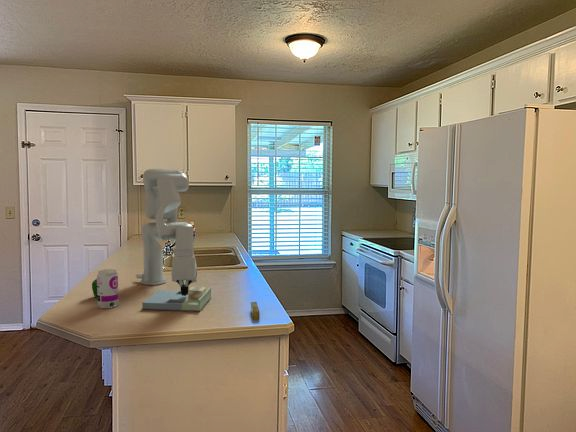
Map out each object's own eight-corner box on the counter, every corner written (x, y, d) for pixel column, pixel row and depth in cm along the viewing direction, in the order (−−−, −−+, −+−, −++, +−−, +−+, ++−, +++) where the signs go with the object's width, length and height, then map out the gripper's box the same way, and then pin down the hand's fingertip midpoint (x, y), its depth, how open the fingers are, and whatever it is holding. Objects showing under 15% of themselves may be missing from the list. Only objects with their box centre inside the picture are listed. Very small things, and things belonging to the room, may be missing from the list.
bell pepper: (87, 298, 194) (87, 276, 193) (101, 293, 202) (101, 272, 201) (102, 300, 191) (101, 278, 190) (116, 295, 199) (115, 274, 198)
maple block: (188, 299, 184) (188, 290, 184) (192, 295, 190) (192, 286, 190) (202, 300, 184) (202, 290, 184) (205, 296, 190) (205, 287, 190)
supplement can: (122, 304, 186) (122, 270, 184) (108, 310, 178) (108, 274, 177) (107, 302, 188) (106, 268, 187) (93, 307, 181) (92, 272, 179)
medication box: (250, 311, 181) (250, 301, 181) (257, 310, 182) (256, 301, 181) (253, 320, 169) (252, 310, 169) (259, 320, 170) (259, 310, 169)
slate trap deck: (142, 309, 179) (142, 297, 179) (159, 296, 199) (159, 285, 199) (199, 311, 178) (199, 299, 178) (211, 298, 198) (211, 287, 197)
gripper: (164, 254, 183) (164, 296, 185) (199, 255, 182) (199, 297, 184) (170, 251, 190) (170, 292, 192) (203, 252, 190) (203, 293, 191)
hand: (184, 294), depth 188 cm, fingers closed
